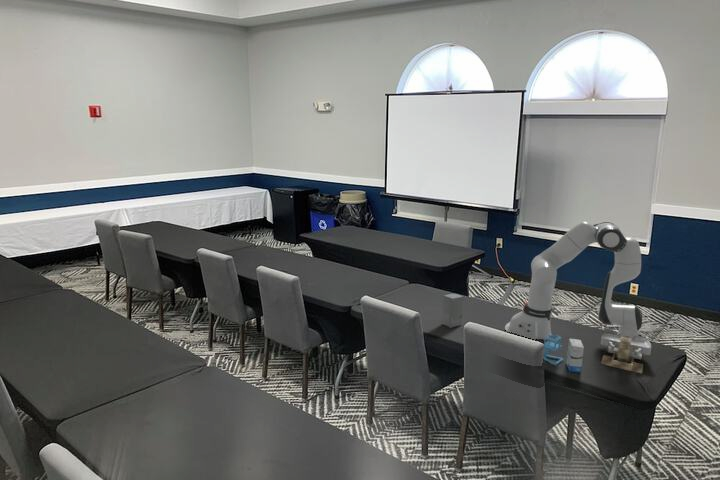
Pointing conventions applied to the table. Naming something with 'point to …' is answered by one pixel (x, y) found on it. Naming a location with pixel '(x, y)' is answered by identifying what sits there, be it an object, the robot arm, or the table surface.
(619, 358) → the block
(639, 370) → the tan frame holder
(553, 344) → the chair
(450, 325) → the skincare box
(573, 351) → the ink box
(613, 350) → the board
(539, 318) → the robot arm
